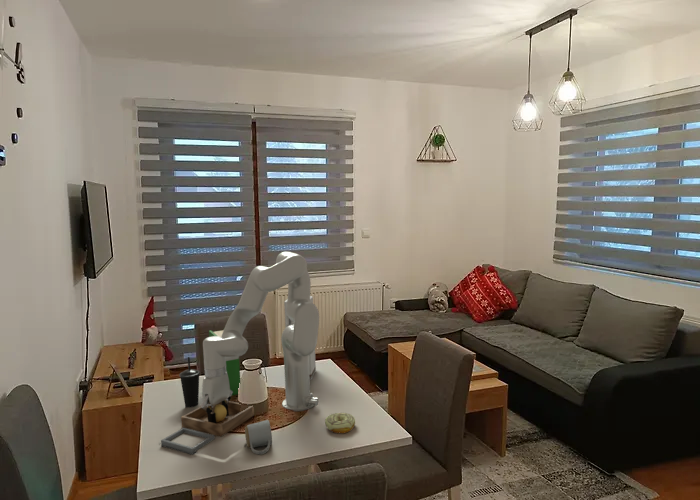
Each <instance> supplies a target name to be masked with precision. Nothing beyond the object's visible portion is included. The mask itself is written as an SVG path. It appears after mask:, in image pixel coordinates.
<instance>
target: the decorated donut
mask: <svg viewBox="0 0 700 500" xmlns="http://www.w3.org/2000/svg"><path fill="white" fill-rule="evenodd" d="M324 422H325V426H326V428H327V429H328V430H329V431H331V432H332V433H333V434H334V433H335V434H342V435H343V434H346V433H348V432H351V431H352V430H353V428H354V427H355V424H356V418H355V417H354V416H353V415H352V414H350V413H347V412H339V413H338V412H337V413H336V412H335V413H331V414H329V415H328V416H327V417H326V418H325V419H324Z"/></svg>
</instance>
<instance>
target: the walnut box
mask: <svg viewBox="0 0 700 500" xmlns="http://www.w3.org/2000/svg"><path fill="white" fill-rule="evenodd" d="M239 403H240V402H236V401H233V400H230V401H229V405H228V412H229V416H226V417H225V418H224V420H222V421H220V422H216V423H212V422H208V413H206V411H204V410H203V409H202V408H201V406H198V407H197V408H195V409H193V410H191V411H190V412H188V413H186V414H184V415H181V417H180V419H181V428H187V429H191V430H195V431H199V432H203V433H207V434H211V435H214V436H216V437H219V438H220V437H223V436H224V435H226V434H228V433H229V432H231V431H232V430H234V429H236V428H237V427H238V426H240V425H242V424H243V423H246V421H248V420H250V419H251V418H253V417H254V416H255V407H253V406H254V405H252V406H248V408H246V409H245V410H243V411H241V412H240V408H241V404H239ZM210 404H211V403H210ZM218 404H220V405H221V402H220V403H218ZM218 404H216V405H218ZM211 408H212V406H210V409H211Z"/></svg>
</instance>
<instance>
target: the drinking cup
mask: <svg viewBox="0 0 700 500" xmlns="http://www.w3.org/2000/svg"><path fill="white" fill-rule="evenodd" d="M190 358H191V357H190V356H188V357H187V366H188V369H185V370H183V371H181V372H180V373H179V377H180V381H181V382H180V383H181V388H182V389H181V390H182V394H183V400H184V407H185V409H187V408H195V407H197V406H198V405H199V393H200V391H199V390H200V389H199V388H200V374H201V371H200V370H198V369H195V368H191V359H190Z"/></svg>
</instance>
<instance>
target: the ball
mask: <svg viewBox="0 0 700 500" xmlns="http://www.w3.org/2000/svg"><path fill="white" fill-rule="evenodd" d="M214 413H215V414H216V422H220V421H222V420H224V418H225V417H226V414H227V411H226V408H225V407H224V406H223V405H220V404H218V405H215V410H214Z"/></svg>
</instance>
